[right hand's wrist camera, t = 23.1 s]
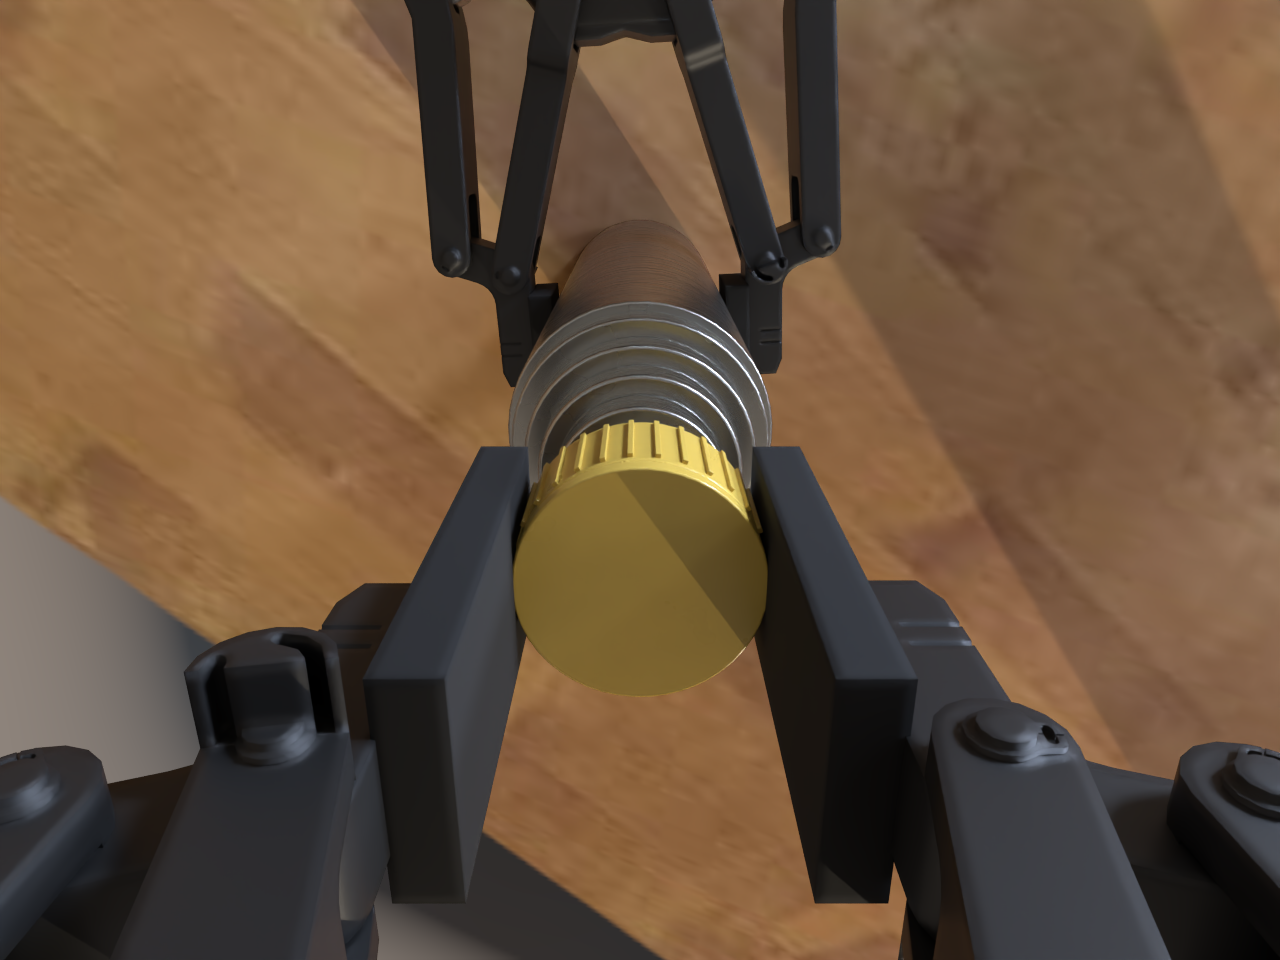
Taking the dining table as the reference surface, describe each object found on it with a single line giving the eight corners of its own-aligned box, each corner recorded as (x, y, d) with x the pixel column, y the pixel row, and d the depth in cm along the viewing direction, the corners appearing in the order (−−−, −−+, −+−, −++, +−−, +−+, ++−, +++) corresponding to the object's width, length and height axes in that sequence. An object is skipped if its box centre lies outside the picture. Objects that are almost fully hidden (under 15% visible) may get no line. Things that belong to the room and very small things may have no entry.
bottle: (542, 285, 36) (369, 552, 13) (646, 189, 35) (658, 295, 12) (634, 386, 38) (626, 784, 15) (737, 297, 37) (907, 580, 13)
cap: (478, 499, 14) (452, 558, 12) (672, 370, 14) (678, 411, 12) (611, 664, 15) (607, 741, 14) (798, 554, 15) (823, 619, 13)
